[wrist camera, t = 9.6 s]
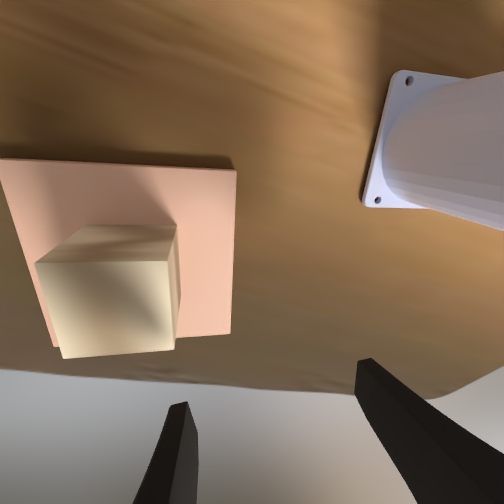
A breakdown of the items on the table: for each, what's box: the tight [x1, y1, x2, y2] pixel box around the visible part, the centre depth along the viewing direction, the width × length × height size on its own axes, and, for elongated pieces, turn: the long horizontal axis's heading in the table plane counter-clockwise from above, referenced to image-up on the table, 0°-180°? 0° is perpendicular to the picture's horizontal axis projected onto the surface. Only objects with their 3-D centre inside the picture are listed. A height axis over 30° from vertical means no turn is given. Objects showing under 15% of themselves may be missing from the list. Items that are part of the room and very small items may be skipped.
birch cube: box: [34, 224, 181, 359], centre depth 14 cm, size 5×5×5 cm
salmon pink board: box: [0, 158, 237, 347], centre depth 16 cm, size 12×12×1 cm
